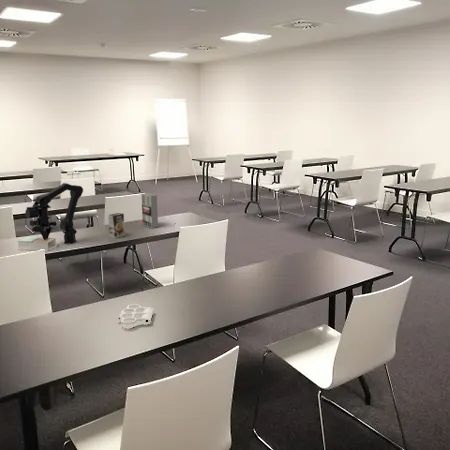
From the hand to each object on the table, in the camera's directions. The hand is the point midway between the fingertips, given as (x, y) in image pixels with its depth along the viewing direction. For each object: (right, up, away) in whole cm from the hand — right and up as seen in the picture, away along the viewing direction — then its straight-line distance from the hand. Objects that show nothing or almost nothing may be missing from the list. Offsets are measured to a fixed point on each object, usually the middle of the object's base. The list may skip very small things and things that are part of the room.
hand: (45, 239), depth 284 cm
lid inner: (0, -1, -1) cm, 1 cm away
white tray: (-6, -6, +1) cm, 8 cm away
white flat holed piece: (+78, -31, -100) cm, 130 cm away
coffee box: (+39, +1, +29) cm, 49 cm away
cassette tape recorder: (+57, +8, +58) cm, 82 cm away
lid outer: (-11, -1, +1) cm, 11 cm away
